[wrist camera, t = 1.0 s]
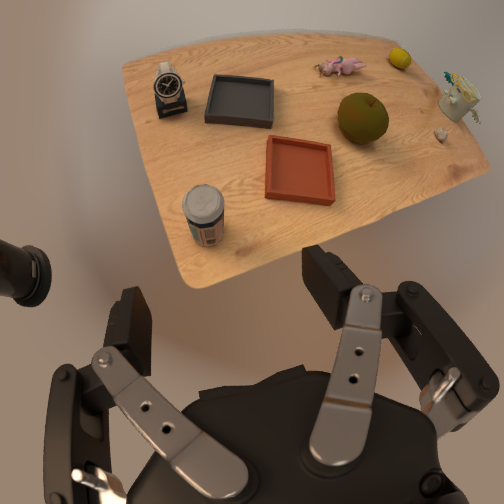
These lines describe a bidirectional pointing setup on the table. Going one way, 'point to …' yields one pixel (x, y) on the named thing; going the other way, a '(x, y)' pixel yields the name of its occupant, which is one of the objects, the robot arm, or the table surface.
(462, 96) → the character sculpture
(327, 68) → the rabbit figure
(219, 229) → the beer can
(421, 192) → the table surface
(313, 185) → the terracotta tray
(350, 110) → the apple
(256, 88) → the grey tray
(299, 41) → the table surface
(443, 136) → the game die
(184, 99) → the watch
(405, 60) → the tennis ball
